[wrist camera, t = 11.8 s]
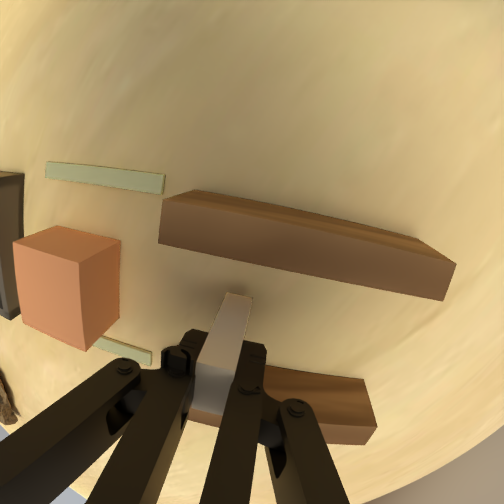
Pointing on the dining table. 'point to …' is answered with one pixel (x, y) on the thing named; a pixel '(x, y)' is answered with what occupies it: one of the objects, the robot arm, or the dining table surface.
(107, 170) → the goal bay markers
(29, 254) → the rust block
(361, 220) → the dining table surface
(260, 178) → the dining table surface
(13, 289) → the tray
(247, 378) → the robot arm
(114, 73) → the dining table surface
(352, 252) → the channel
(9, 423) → the rock
